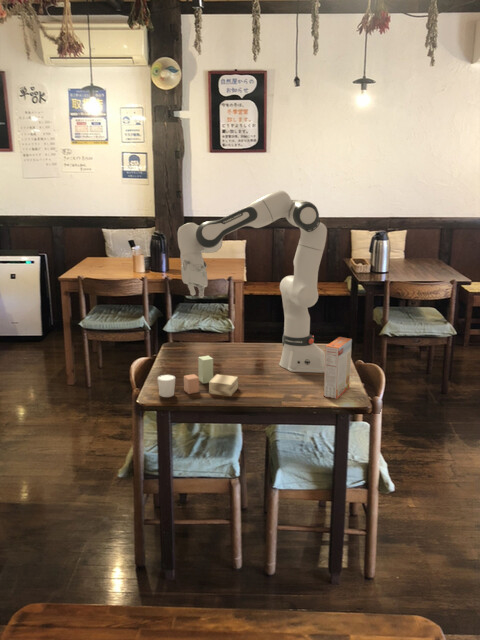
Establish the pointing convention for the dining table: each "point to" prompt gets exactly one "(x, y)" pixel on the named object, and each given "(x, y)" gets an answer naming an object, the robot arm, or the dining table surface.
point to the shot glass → (166, 385)
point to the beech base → (223, 385)
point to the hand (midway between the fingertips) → (197, 296)
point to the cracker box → (337, 367)
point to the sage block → (205, 369)
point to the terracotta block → (191, 383)
